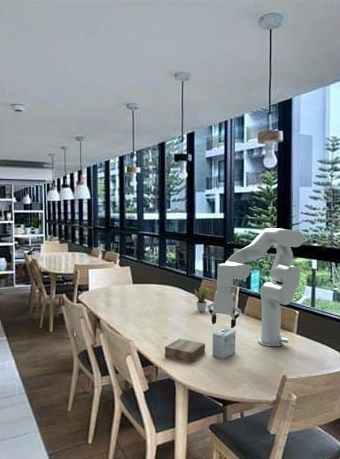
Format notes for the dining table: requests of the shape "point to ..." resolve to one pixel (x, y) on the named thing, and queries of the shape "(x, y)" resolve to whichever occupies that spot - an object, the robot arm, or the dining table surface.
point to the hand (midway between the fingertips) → (223, 325)
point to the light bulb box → (224, 343)
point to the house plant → (201, 300)
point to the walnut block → (185, 350)
